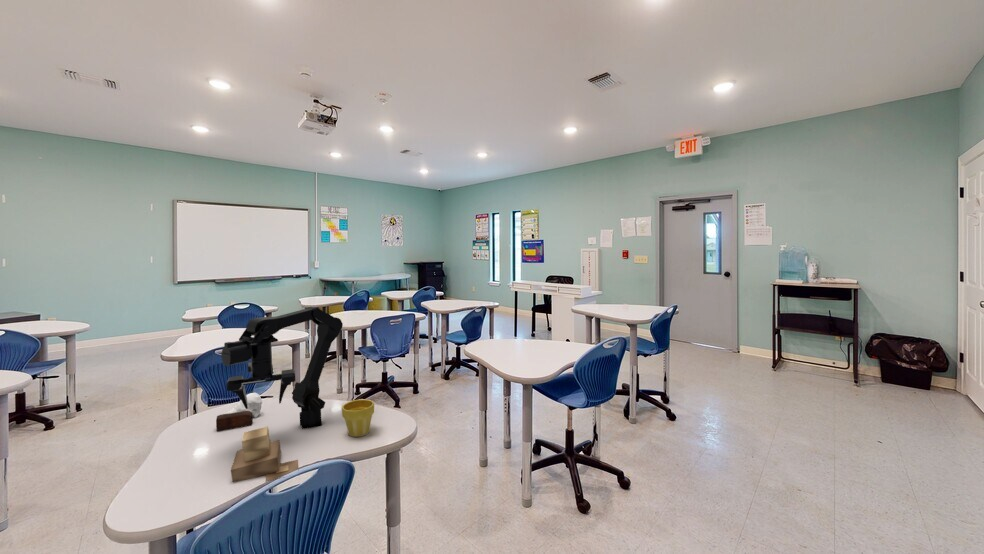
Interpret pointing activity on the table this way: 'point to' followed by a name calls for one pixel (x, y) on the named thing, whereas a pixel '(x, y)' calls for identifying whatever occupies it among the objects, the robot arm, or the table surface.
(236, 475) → the tan flat square block
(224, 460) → the table surface
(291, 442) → the table surface
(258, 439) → the oak cube
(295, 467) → the swatch
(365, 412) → the plant pot
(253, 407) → the white lumpy chunk
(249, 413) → the brick
